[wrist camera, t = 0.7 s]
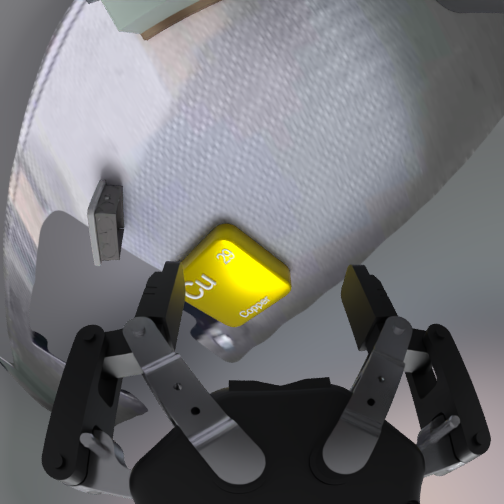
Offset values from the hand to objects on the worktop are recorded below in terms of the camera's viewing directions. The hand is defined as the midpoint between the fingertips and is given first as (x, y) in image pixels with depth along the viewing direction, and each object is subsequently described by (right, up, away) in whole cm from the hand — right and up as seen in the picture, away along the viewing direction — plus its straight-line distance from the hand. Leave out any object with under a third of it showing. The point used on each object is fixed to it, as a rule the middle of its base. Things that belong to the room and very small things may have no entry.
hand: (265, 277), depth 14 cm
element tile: (-4, -2, +35) cm, 35 cm away
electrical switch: (-21, +8, +27) cm, 35 cm away
